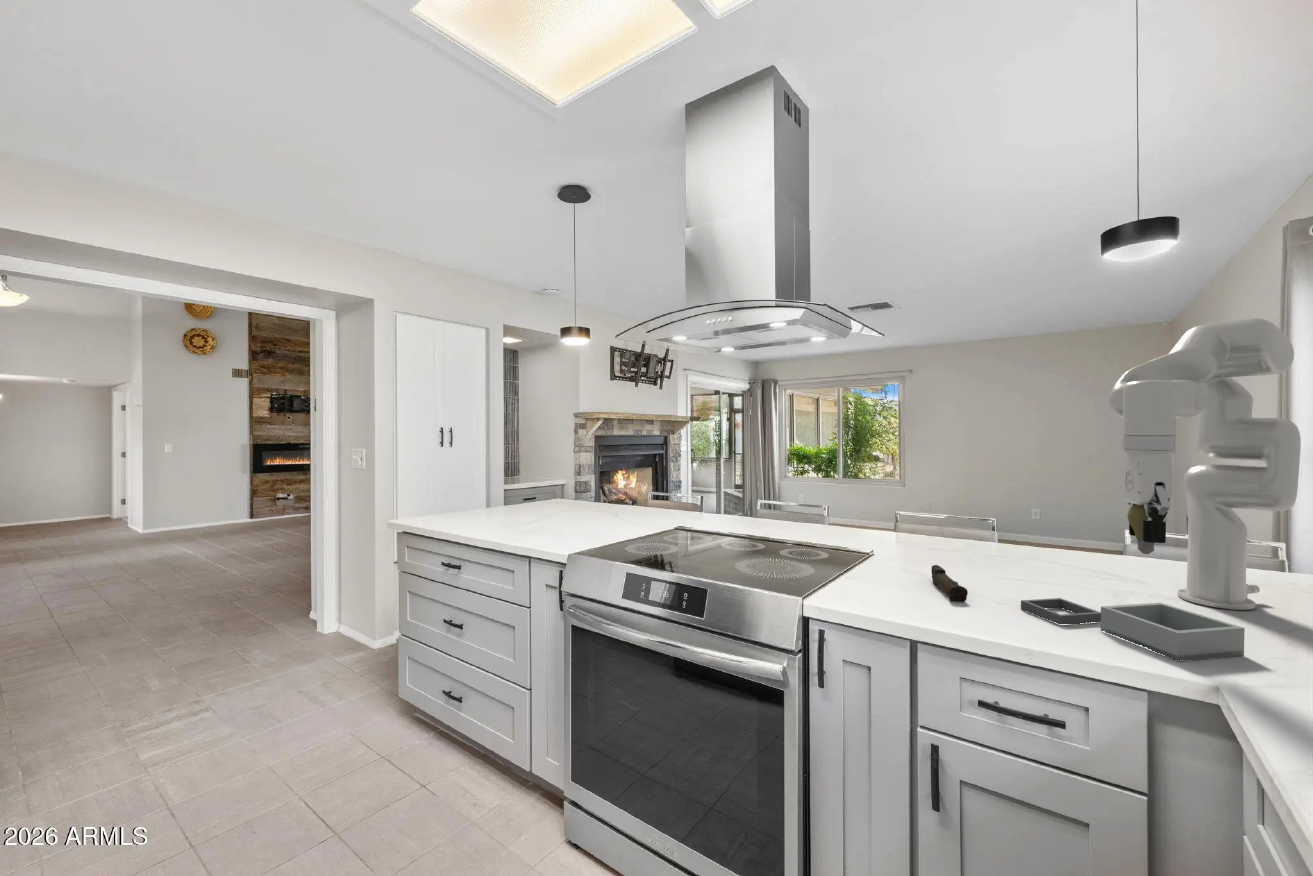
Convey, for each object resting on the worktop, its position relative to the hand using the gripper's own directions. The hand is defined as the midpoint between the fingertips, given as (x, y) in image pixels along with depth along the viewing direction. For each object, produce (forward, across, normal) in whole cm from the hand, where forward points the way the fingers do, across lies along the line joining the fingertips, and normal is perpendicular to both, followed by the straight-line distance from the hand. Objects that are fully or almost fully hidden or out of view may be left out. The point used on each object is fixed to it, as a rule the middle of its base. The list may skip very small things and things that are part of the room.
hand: (1146, 538), depth 106 cm
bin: (+19, +2, +3) cm, 19 cm away
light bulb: (+3, 0, 0) cm, 3 cm away
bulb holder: (+19, -8, -12) cm, 24 cm away
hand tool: (+20, -19, -33) cm, 43 cm away
